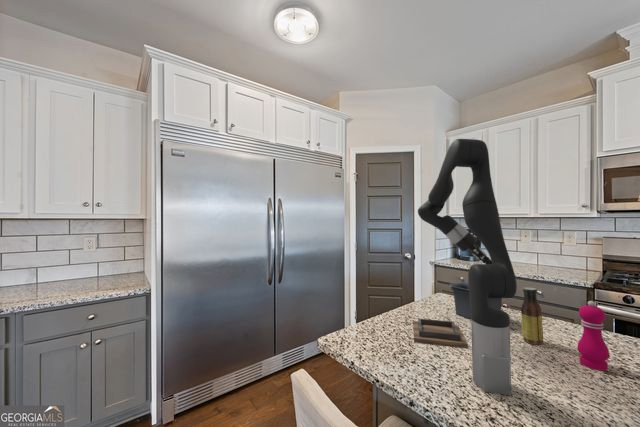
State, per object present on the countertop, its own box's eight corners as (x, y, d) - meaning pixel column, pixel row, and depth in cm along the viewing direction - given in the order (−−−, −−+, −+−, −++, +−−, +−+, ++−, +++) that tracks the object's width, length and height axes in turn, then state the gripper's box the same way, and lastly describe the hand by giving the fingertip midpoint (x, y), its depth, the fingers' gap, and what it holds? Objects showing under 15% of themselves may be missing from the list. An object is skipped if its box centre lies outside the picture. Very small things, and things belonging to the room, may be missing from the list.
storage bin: (447, 313, 135) (446, 284, 135) (467, 308, 142) (466, 280, 143) (491, 328, 116) (490, 294, 116) (512, 321, 124) (511, 289, 124)
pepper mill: (599, 373, 82) (597, 305, 83) (571, 361, 89) (570, 298, 90) (616, 369, 84) (614, 303, 85) (587, 358, 91) (585, 296, 92)
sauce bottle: (536, 338, 106) (534, 286, 107) (547, 346, 100) (546, 290, 100) (517, 338, 107) (516, 286, 107) (528, 345, 101) (527, 290, 101)
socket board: (467, 348, 99) (467, 338, 99) (414, 341, 105) (413, 332, 105) (458, 328, 116) (458, 320, 116) (413, 324, 122) (413, 316, 122)
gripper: (469, 231, 106) (505, 263, 101) (467, 230, 119) (499, 258, 114) (454, 245, 108) (489, 277, 103) (453, 242, 121) (484, 270, 116)
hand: (494, 267), depth 109 cm, fingers open, 8 cm apart
